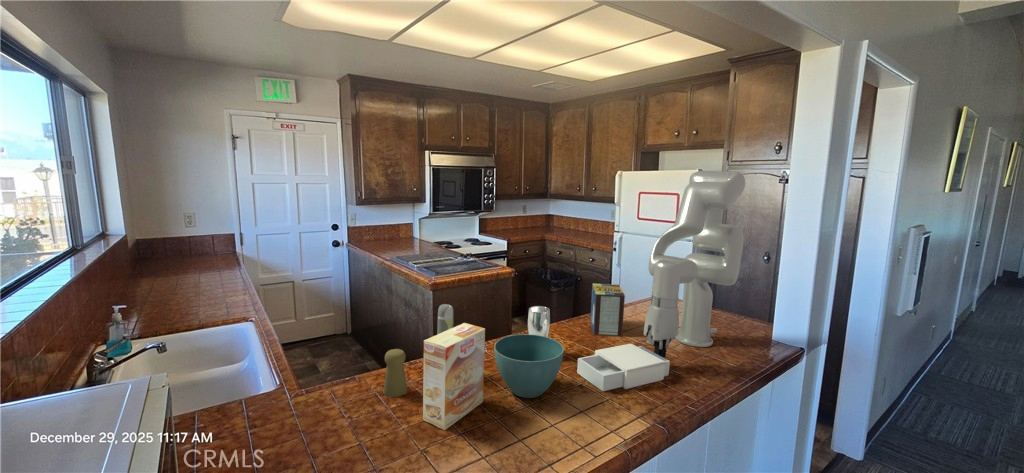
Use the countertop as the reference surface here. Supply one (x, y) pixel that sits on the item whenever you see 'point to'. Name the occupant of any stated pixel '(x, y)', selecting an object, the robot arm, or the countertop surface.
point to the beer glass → (539, 320)
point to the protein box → (607, 309)
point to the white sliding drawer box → (607, 371)
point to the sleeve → (634, 364)
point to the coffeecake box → (453, 374)
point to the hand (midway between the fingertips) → (659, 359)
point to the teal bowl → (528, 363)
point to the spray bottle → (445, 318)
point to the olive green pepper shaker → (395, 373)
